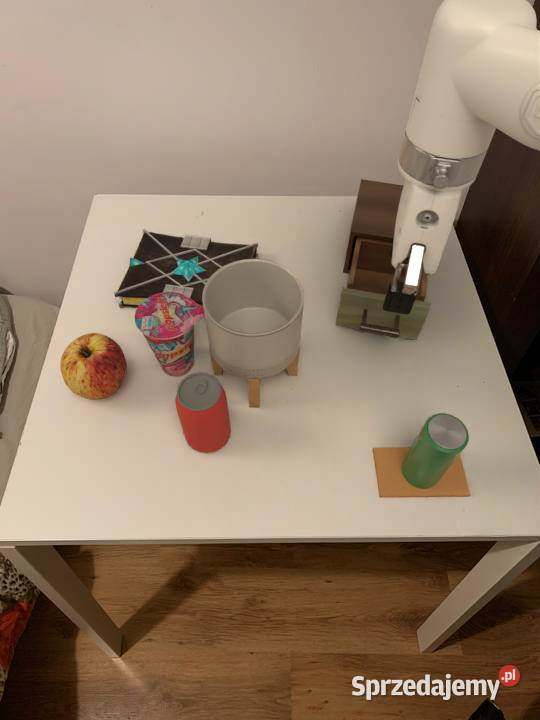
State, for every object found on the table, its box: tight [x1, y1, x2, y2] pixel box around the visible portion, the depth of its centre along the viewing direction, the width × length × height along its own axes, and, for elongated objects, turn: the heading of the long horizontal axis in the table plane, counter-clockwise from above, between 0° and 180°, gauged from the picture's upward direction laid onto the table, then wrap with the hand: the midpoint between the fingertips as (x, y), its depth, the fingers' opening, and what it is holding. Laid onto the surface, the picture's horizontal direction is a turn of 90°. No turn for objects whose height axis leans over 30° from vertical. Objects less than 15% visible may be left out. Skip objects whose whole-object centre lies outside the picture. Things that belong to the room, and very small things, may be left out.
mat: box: [372, 446, 471, 499], centre depth 67 cm, size 12×7×1 cm, turn 91°
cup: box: [134, 292, 205, 377], centre depth 73 cm, size 9×8×12 cm
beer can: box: [174, 371, 232, 454], centre depth 66 cm, size 7×7×12 cm
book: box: [113, 228, 259, 309], centre depth 86 cm, size 22×17×5 cm
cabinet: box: [342, 178, 404, 275], centre depth 88 cm, size 15×15×10 cm
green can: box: [401, 412, 470, 489], centre depth 62 cm, size 5×5×12 cm
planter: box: [202, 258, 305, 409], centre depth 69 cm, size 13×13×18 cm
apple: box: [59, 332, 128, 400], centre depth 71 cm, size 9×9×10 cm
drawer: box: [335, 237, 432, 341], centre depth 80 cm, size 18×13×8 cm
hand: (399, 282), depth 60 cm, fingers open, 8 cm apart
